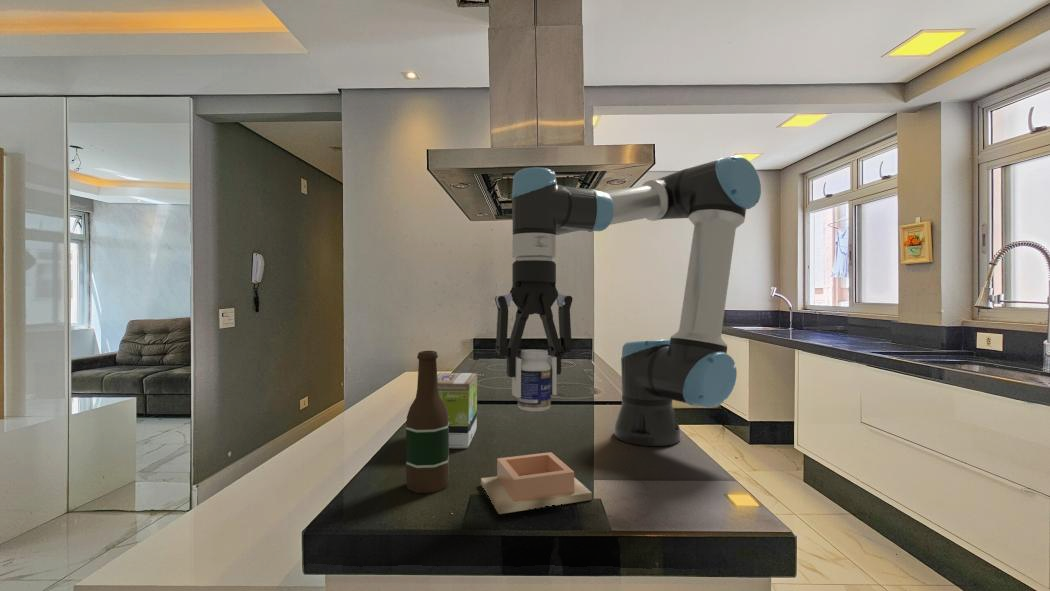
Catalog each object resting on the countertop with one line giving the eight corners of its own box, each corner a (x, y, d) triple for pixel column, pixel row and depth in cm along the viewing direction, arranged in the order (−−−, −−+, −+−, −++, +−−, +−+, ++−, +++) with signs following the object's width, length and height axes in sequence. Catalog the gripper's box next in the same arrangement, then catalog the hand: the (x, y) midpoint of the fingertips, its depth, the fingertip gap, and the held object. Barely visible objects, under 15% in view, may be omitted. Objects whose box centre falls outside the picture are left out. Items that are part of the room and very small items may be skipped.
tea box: (470, 449, 105) (469, 382, 105) (424, 449, 105) (424, 382, 105) (477, 429, 120) (477, 371, 120) (438, 429, 120) (437, 371, 120)
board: (563, 473, 90) (563, 467, 90) (591, 499, 79) (591, 492, 79) (481, 484, 85) (481, 478, 85) (498, 514, 74) (498, 506, 74)
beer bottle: (411, 497, 80) (411, 355, 80) (401, 481, 87) (400, 350, 87) (456, 489, 84) (455, 352, 84) (442, 474, 91) (441, 348, 90)
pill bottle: (548, 412, 79) (548, 352, 79) (514, 411, 80) (514, 352, 80) (553, 405, 84) (552, 348, 84) (521, 403, 85) (521, 348, 85)
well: (551, 470, 89) (551, 452, 89) (574, 492, 79) (574, 471, 79) (497, 477, 85) (497, 458, 85) (514, 501, 76) (514, 479, 76)
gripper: (486, 257, 76) (486, 403, 76) (593, 260, 82) (593, 395, 82) (476, 260, 83) (476, 394, 83) (574, 262, 89) (574, 387, 89)
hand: (534, 394), depth 82 cm, fingers closed on pill bottle, 6 cm apart
